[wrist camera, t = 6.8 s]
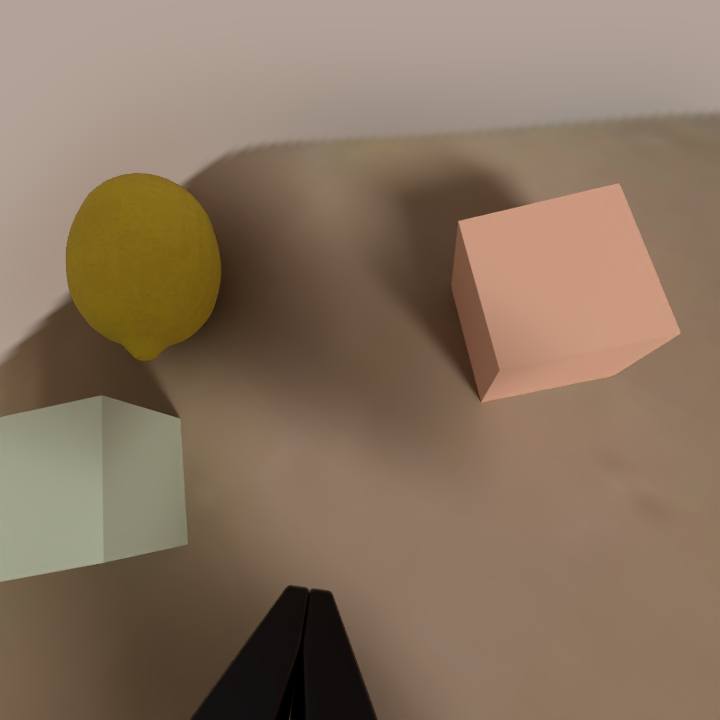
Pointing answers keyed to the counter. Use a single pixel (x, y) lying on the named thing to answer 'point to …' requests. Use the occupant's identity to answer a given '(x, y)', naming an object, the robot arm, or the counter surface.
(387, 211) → the counter surface
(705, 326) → the counter surface
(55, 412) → the sage block
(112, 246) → the lemon
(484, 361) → the terracotta block
